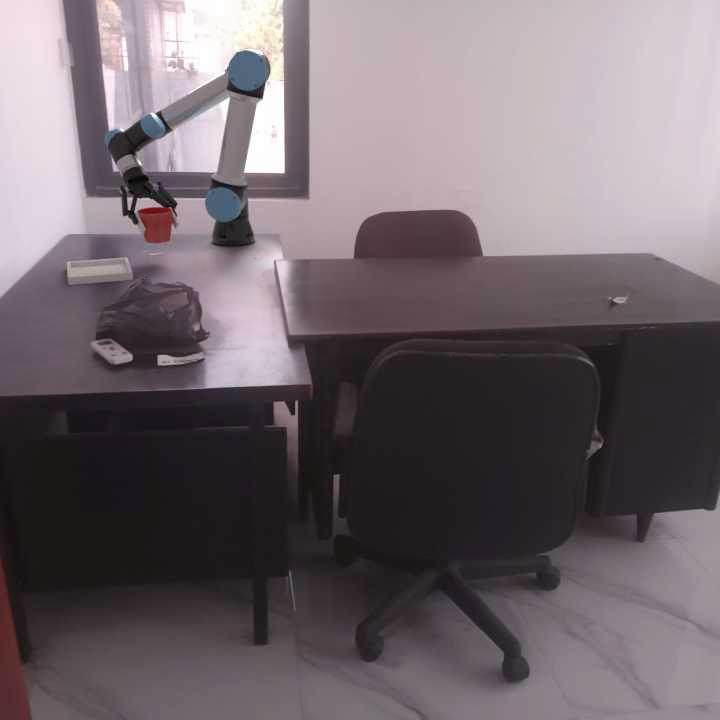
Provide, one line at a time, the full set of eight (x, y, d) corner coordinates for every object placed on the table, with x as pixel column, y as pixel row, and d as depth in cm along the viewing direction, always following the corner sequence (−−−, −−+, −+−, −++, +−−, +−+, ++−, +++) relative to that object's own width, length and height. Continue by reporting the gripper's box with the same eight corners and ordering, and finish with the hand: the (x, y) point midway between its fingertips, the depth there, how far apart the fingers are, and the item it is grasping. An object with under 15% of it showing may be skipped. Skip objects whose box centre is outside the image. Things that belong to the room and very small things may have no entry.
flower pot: (170, 244, 233) (167, 213, 229) (136, 244, 233) (132, 213, 229) (179, 236, 242) (176, 207, 239) (145, 236, 243) (142, 206, 239)
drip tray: (128, 264, 236) (127, 257, 235) (133, 279, 221) (132, 272, 220) (67, 268, 230) (66, 261, 229) (68, 285, 215) (67, 277, 214)
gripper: (163, 176, 249) (190, 230, 244) (95, 184, 235) (123, 241, 230) (168, 161, 243) (197, 216, 238) (100, 169, 229) (128, 227, 224)
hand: (160, 229), depth 234 cm, fingers closed on flower pot, 11 cm apart
